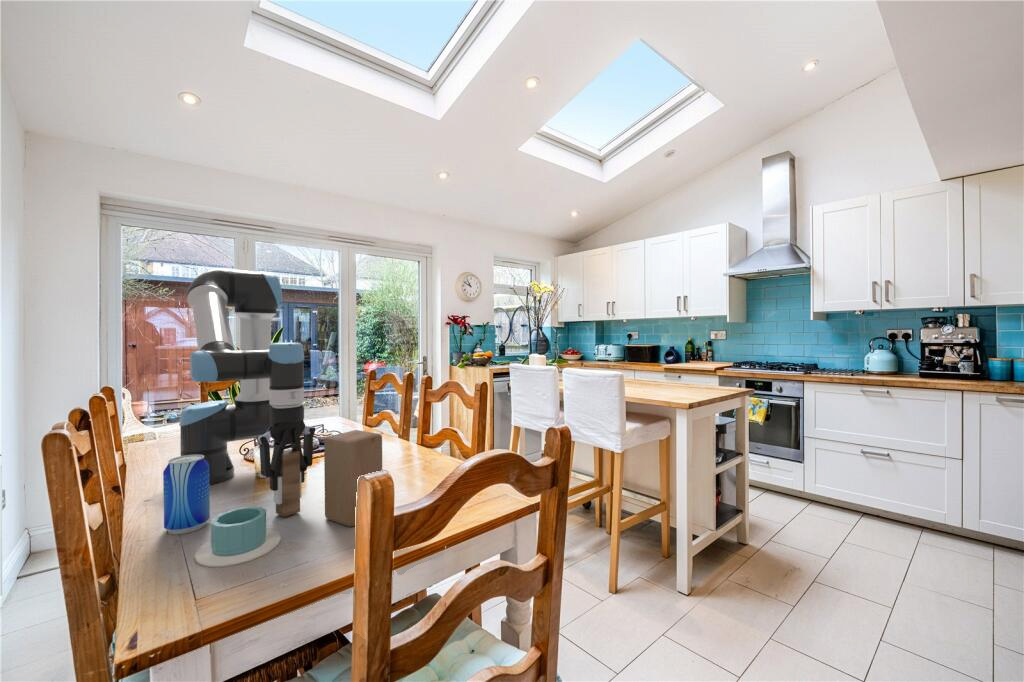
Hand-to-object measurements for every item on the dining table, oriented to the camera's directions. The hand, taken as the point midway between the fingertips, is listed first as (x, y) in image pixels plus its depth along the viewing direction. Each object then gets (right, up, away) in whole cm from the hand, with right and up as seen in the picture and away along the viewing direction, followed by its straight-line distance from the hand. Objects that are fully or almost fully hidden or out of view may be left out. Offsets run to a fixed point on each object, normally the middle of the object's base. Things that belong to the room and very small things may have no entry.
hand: (287, 499), depth 105 cm
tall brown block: (0, -3, 0) cm, 3 cm away
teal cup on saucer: (-2, -4, -16) cm, 17 cm away
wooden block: (+17, -4, -1) cm, 17 cm away
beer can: (-19, -4, -7) cm, 21 cm away
